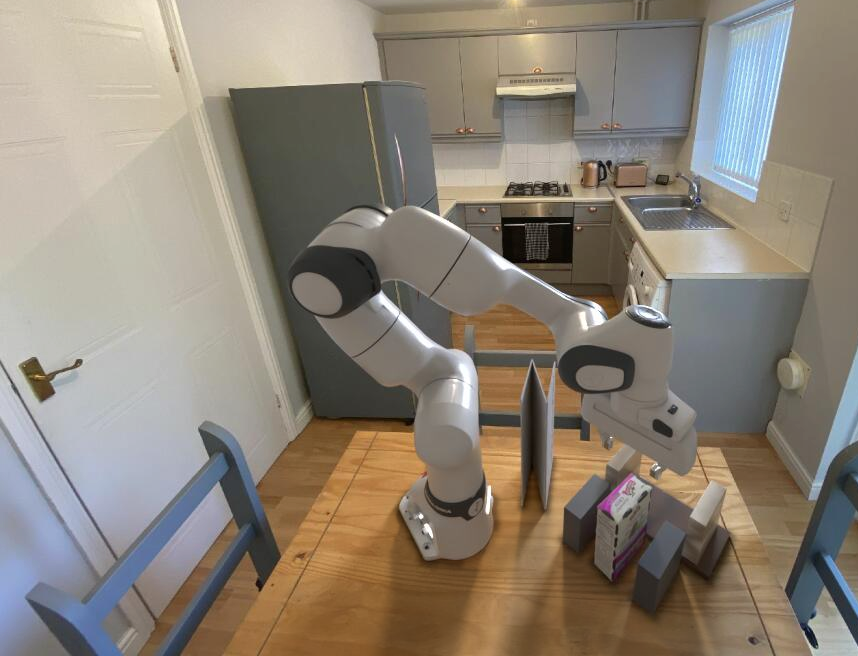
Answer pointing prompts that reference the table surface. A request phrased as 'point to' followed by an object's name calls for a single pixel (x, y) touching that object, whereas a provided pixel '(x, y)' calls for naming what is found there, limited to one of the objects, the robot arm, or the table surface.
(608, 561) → the candy bar box
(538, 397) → the brochure
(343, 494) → the table surface
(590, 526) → the dark gray block pair
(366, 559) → the table surface
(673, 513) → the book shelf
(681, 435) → the robot arm
